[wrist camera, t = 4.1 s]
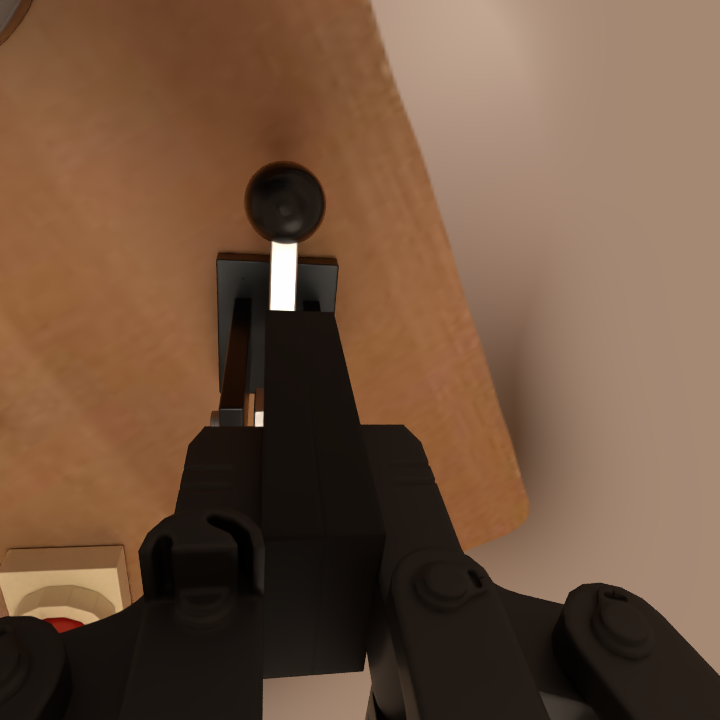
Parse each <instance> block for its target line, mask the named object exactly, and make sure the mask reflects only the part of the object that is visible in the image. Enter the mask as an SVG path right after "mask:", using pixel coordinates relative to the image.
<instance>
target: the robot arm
mask: <svg viewBox="0 0 720 720" xmlns="http://www.w3.org/2000/svg"><path fill="white" fill-rule="evenodd" d="M31 2H32V0H0V45H1V44H2V43H3V42H4V41H5V40H6V39H7V38H8V37H9V36H10V35H11V34H12V33H13V31H14V30H15V29H16V27H17V26H18V25H19V23H20V22H21V20H22V19H23V17H24V15H25V14H26V12H27V10H28V8H29V6H30V4H31ZM138 552H139V560H140V568H141V576H142V584H143V592H144V595H143V596H142V597H141V598H139V599H138V600H137V601H136V602H134V603H133V604H131V605H130V606H128V607H127V608H125V609H123V610H122V611H120V612H118V613H115V614H113V615H111V616H108V617H106V618H104V619H101V620H98V621H95V622H92V623H89V624H86V625H83V626H80V627H77V628H74V629H71V630H68V631H65V632H62V633H59V632H58V631H57V630H56V629H55V627H54V626H53V625H52V623H49V622H46V621H44V620H41V619H39V618H36V617H33V616H5V617H2V618H0V720H262V711H263V707H262V703H263V679H268V678H280V677H293V676H308V675H321V674H334V673H346V672H359V671H363V670H364V664H365V658H366V652H367V655H368V662H369V668H370V674H371V680H372V685H371V691H370V696H369V701H368V707H367V712H366V718H365V720H720V676H719V675H718V673H716V671H715V670H714V669H713V668H712V667H711V666H710V665H709V664H708V663H707V662H706V661H705V660H704V659H703V658H702V657H701V656H700V655H699V654H698V652H697V651H696V650H695V649H694V648H693V647H692V646H691V645H690V644H689V643H688V642H687V641H686V640H685V639H684V638H683V637H682V636H681V635H680V634H679V633H678V632H677V631H676V629H675V628H674V627H673V626H672V625H671V624H670V623H669V622H668V621H667V620H666V619H665V618H664V617H663V616H662V615H661V614H660V613H659V612H658V611H657V610H655V609H654V608H653V607H652V606H651V605H650V604H648V603H647V602H646V601H645V600H643V599H642V598H640V597H638V596H637V595H634V594H633V593H631V592H629V591H627V590H625V589H623V588H621V587H617V586H612V585H608V584H603V583H591V584H582V585H580V586H579V587H577V588H576V589H574V590H572V591H571V592H569V594H568V597H567V599H566V601H565V604H560V603H556V602H551V601H547V600H543V599H539V598H535V597H531V596H526V595H522V594H519V593H516V592H513V591H509V590H507V589H504V588H502V587H500V586H498V585H497V584H495V583H493V582H492V580H491V578H490V577H489V575H488V574H487V572H486V571H485V569H484V568H483V567H482V566H480V565H479V564H478V563H477V562H475V561H474V560H473V559H472V558H470V557H469V556H467V555H465V554H464V552H463V551H462V549H461V546H460V544H459V541H458V538H457V536H456V533H455V530H454V528H453V525H452V523H451V520H450V517H449V515H448V512H447V510H446V507H445V504H444V502H443V499H442V496H441V494H440V491H439V489H438V486H437V483H435V478H434V475H433V473H432V470H431V468H430V466H428V460H427V457H426V454H425V452H424V449H423V447H422V444H421V442H420V441H419V440H418V439H417V438H416V437H415V436H414V435H413V434H412V433H411V432H410V431H409V430H408V429H407V428H406V427H405V426H404V425H360V421H359V417H358V412H357V408H356V404H355V400H354V396H353V391H352V387H351V383H350V379H349V375H348V370H347V366H346V362H345V358H344V354H343V349H342V345H341V341H340V337H339V333H338V328H337V324H336V320H335V316H334V312H317V311H289V310H266V316H265V363H264V410H263V426H205V427H204V428H203V429H202V430H201V432H200V433H199V434H198V435H197V436H196V437H195V438H194V439H193V441H192V442H191V443H190V444H189V446H188V451H187V455H186V460H185V465H184V471H183V474H182V479H181V484H180V490H179V494H178V498H177V503H176V508H175V513H174V514H173V515H171V516H169V517H167V518H164V519H163V520H162V521H161V522H160V523H159V524H158V525H156V526H155V527H154V528H153V529H152V530H151V531H150V532H148V534H147V536H146V537H145V539H144V541H143V543H142V545H141V547H140V549H139V551H138Z"/></svg>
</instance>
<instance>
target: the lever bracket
mask: <svg viewBox="0 0 720 720" xmlns="http://www.w3.org/2000/svg"><path fill="white" fill-rule="evenodd" d="M216 267H217V309H218V350H219V392H220V393H221V397H220V404H219V411H212V413H211V419H210V426H247V424H248V408H249V393H251V394H255V389H256V388H264V363H265V316H266V310H269V284H270V256H266V255H247V254H227V253H218V256H217V260H216ZM338 268H339V266H338V263H337V260H336V259H324V258H305V257H298V267H297V291H296V311H317V312H334V314H335V303H336V291H337V279H338Z"/></svg>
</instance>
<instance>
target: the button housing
mask: <svg viewBox="0 0 720 720" xmlns="http://www.w3.org/2000/svg"><path fill="white" fill-rule="evenodd" d="M0 586H1V589H2V592H3V596H4V599H5V602H6V605H7V609H8V612H9V615H10V616H33V617H36V618H39V619H41V620H43V619H46V618H57V617H66V618H69V619H73V620H77V621H80V622H82V623H83V624H85V625H86V624H89V623H92V622H95V621H98V620H101V619H104V618H106V617H108V616H111V615H113V614H115V613H118V612H120V611H122V610H123V609H125V608H127V607H128V606H130V605H131V597H130V590H129V583H128V576H127V569H126V562H125V555H124V548H123V546H94V547H65V548H36V549H10V550H9V551H8V553H7V554H6V556H5V558H4V560H3V562H2V564H1V566H0Z"/></svg>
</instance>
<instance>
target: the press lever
mask: <svg viewBox="0 0 720 720" xmlns="http://www.w3.org/2000/svg"><path fill="white" fill-rule="evenodd" d="M244 206H245V211H246V215H247V218H248V220H249V222H250V224H251V225H252V227H253V228H254V229H255V231H256V232H257V233H258V234H259V235H261V236H262V237H263V238H265V239H267V240H268V241H270V284H269V310H289V311H296V291H297V267H298V243H300V242H302V241H304V240H306V239H308V238H309V237H311V236H312V235H313V234H314V233H315V232H316V231H317V230H318V228H319V227H320V225H321V223H322V221H323V219H324V216H325V211H326V198H325V193H324V190H323V187H322V185H321V183H320V181H319V180H318V178H317V177H316V176H315V175H314V173H313V172H312V171H310V170H309V169H308V168H306V167H305V166H303V165H301V164H299V163H296V162H292V161H275V162H272V163H269V164H267V165H265V166H263V167H261V168H260V169H259V170H258V171H257V172H256V173H255V174H254V175H253V176H252V178H251V179H250V181H249V183H248V185H247V188H246V191H245V197H244ZM263 410H264V388H256V389H255V400H254V426H263Z"/></svg>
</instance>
